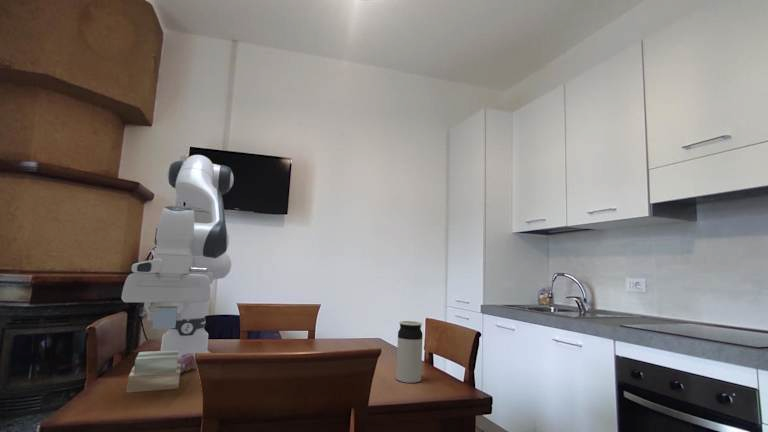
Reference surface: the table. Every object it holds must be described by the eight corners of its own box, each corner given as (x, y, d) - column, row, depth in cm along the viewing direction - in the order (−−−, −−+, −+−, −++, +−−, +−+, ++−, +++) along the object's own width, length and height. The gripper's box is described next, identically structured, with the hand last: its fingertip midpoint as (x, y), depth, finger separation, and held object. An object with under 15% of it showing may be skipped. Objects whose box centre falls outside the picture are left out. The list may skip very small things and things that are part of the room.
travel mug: (412, 385, 120) (414, 324, 123) (391, 379, 125) (393, 321, 127) (425, 380, 126) (427, 322, 129) (405, 375, 131) (407, 320, 134)
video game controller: (171, 381, 117) (183, 361, 118) (160, 373, 118) (172, 352, 119) (193, 373, 127) (204, 354, 127) (183, 366, 128) (194, 347, 128)
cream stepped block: (131, 380, 112) (135, 351, 113) (179, 377, 117) (182, 349, 118) (126, 392, 101) (130, 360, 102) (178, 388, 106) (181, 357, 107)
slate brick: (153, 325, 102) (156, 306, 102) (175, 325, 104) (177, 306, 105) (152, 328, 97) (155, 308, 98) (175, 328, 100) (177, 308, 100)
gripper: (213, 268, 110) (208, 318, 108) (128, 264, 101) (120, 319, 99) (215, 268, 105) (209, 321, 103) (124, 264, 96) (116, 322, 94)
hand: (165, 320), depth 101 cm, fingers closed on slate brick, 5 cm apart
